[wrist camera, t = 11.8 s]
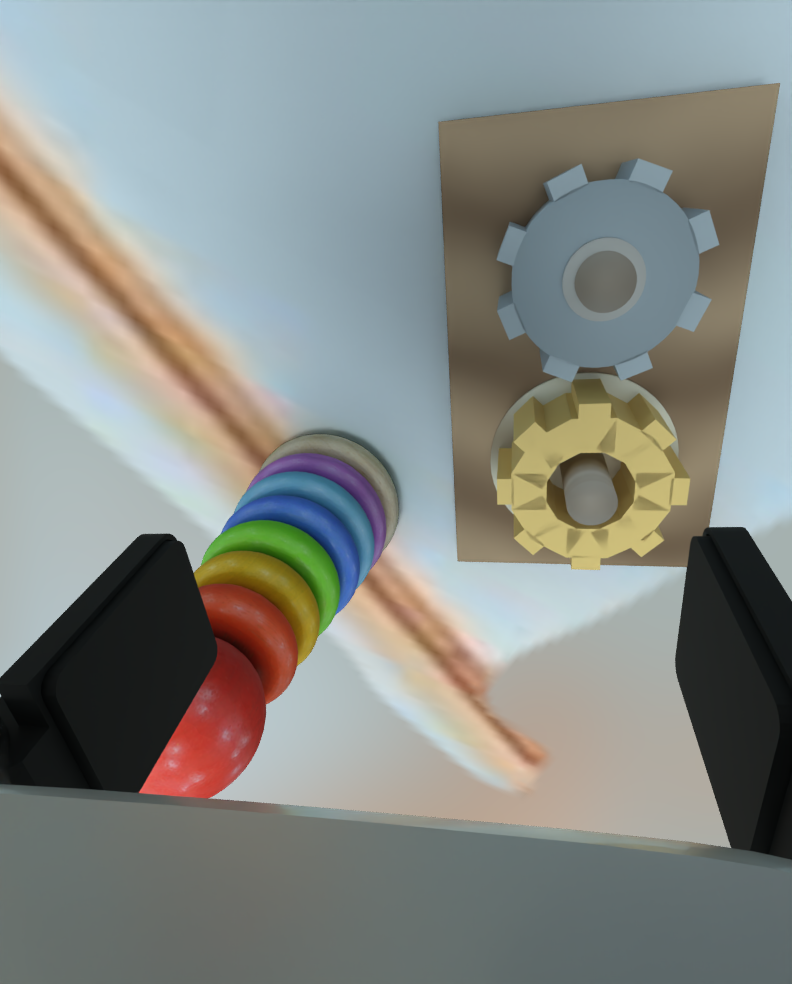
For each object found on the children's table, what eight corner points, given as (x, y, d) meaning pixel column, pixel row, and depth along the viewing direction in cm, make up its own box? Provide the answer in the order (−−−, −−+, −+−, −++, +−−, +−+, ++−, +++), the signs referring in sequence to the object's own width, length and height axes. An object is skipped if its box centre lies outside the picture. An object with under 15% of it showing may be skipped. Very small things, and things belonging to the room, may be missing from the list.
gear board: (442, 125, 25) (422, 107, 20) (764, 89, 23) (841, 58, 17) (459, 546, 33) (449, 613, 28) (694, 551, 31) (731, 625, 26)
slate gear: (467, 223, 25) (460, 228, 21) (657, 121, 22) (683, 109, 19) (537, 388, 27) (541, 416, 24) (715, 313, 25) (748, 333, 21)
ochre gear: (497, 382, 27) (495, 406, 24) (678, 375, 26) (701, 400, 23) (499, 529, 31) (498, 567, 28) (660, 531, 29) (677, 571, 26)
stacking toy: (426, 471, 32) (330, 775, 15) (366, 580, 36) (237, 918, 19) (290, 402, 31) (41, 637, 15) (244, 519, 35) (3, 811, 19)
